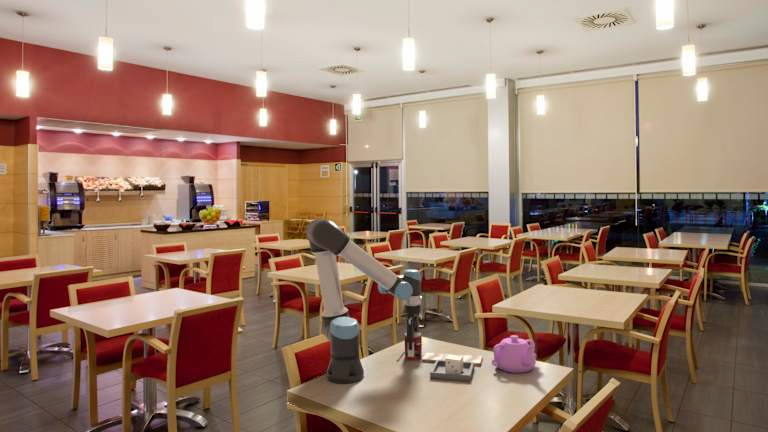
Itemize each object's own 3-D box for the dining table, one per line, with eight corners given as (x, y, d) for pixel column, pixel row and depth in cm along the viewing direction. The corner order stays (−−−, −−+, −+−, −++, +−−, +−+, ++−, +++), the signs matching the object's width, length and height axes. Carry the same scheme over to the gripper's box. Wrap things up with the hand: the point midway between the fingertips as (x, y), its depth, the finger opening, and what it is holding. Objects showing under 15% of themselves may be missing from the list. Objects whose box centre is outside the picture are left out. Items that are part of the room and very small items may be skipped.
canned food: (403, 360, 230) (403, 335, 230) (406, 354, 238) (405, 331, 238) (420, 360, 229) (420, 336, 229) (422, 355, 237) (422, 331, 236)
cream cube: (445, 358, 211) (460, 360, 208) (449, 354, 216) (463, 356, 214) (445, 373, 211) (459, 375, 208) (449, 368, 216) (463, 370, 214)
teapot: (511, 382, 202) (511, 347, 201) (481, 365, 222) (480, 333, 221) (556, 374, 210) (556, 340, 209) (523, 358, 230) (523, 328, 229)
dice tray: (430, 378, 207) (430, 372, 207) (436, 365, 223) (436, 359, 223) (470, 381, 203) (470, 375, 203) (474, 368, 219) (473, 362, 219)
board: (396, 361, 229) (396, 358, 229) (402, 352, 241) (402, 349, 241) (480, 367, 220) (480, 364, 220) (482, 357, 232) (482, 355, 232)
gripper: (415, 310, 221) (416, 361, 222) (425, 299, 242) (425, 346, 243) (398, 309, 223) (399, 360, 224) (409, 298, 244) (410, 345, 245)
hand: (413, 353), depth 234 cm, fingers open, 9 cm apart
